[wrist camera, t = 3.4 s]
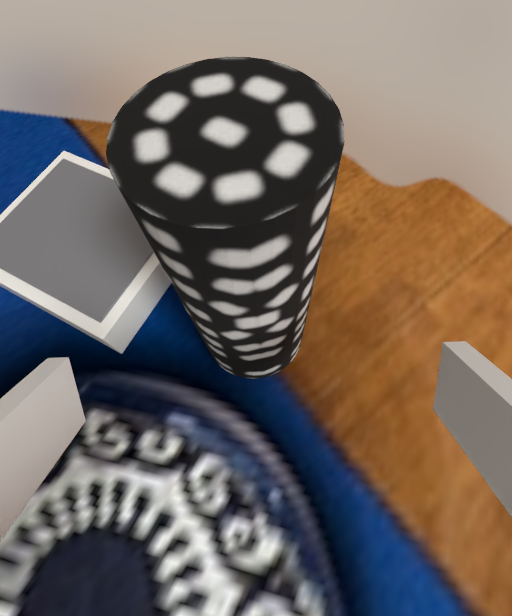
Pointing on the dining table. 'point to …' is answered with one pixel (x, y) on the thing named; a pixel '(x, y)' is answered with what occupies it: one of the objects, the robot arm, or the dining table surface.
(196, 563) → the dining table surface
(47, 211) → the tray
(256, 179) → the spotted tube
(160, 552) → the dining table surface
